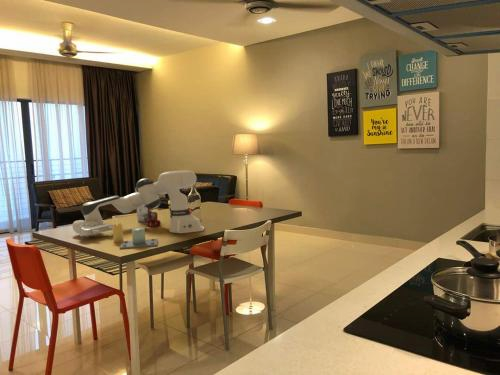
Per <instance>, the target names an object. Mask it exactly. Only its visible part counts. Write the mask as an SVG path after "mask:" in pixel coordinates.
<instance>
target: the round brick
mask: <svg viewBox="0 0 500 375" xmlns="http://www.w3.org/2000/svg"><path fill="white" fill-rule="evenodd" d="M123 229H124V227H123V224H122V223H121V222H119V223H117V222H115V223H113V230H112V233H113V234H112V236H113V243H117V244H118V243H122V242H123V241H125V240H124V231H123Z"/></svg>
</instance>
